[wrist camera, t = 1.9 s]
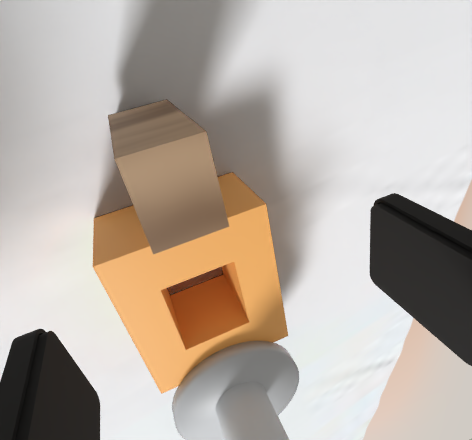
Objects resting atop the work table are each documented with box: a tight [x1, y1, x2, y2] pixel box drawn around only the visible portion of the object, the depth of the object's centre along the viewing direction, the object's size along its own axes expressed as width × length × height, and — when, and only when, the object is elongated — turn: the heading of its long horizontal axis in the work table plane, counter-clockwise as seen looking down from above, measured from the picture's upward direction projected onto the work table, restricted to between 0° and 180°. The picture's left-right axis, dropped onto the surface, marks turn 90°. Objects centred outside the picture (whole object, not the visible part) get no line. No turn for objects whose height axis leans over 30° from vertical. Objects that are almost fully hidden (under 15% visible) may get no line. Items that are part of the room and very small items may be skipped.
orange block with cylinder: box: [93, 172, 299, 440], centre depth 27 cm, size 24×12×16 cm, turn 11°
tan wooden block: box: [108, 99, 229, 254], centre depth 20 cm, size 5×4×12 cm
